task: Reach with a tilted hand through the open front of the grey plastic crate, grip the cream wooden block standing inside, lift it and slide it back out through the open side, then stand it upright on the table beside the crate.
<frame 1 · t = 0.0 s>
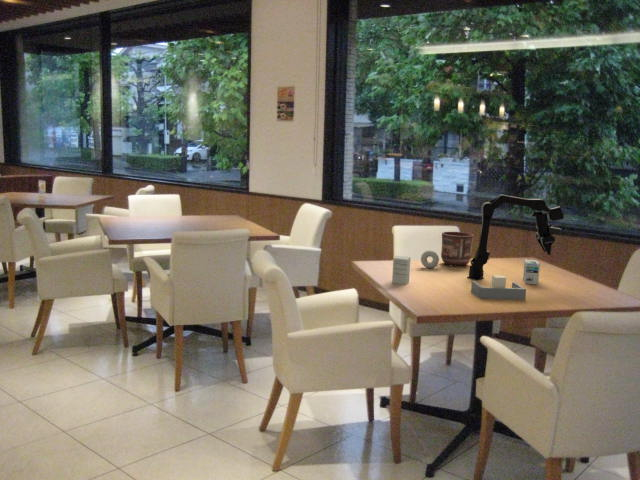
hand: (547, 253, 320), 15 cm above the table, tool pointing down, fingers open, 9 cm apart
cream block: (498, 286, 292), in the open-front crate
open-front crate: (497, 295, 292), on the table
grey ring: (429, 268, 349), on the table
light bulb box: (530, 282, 324), on the table
supplement box: (400, 282, 311), on the table
pottery: (455, 264, 362), on the table
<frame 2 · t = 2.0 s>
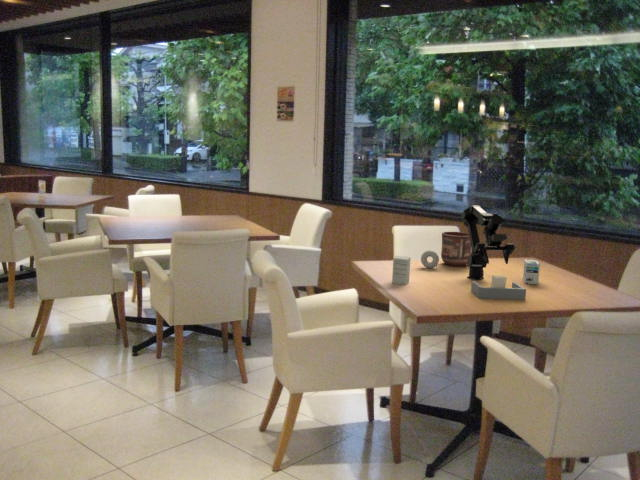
hand: (497, 263, 298), 13 cm above the table, tool tilted 45°, fingers open, 9 cm apart
nothing on the table moved.
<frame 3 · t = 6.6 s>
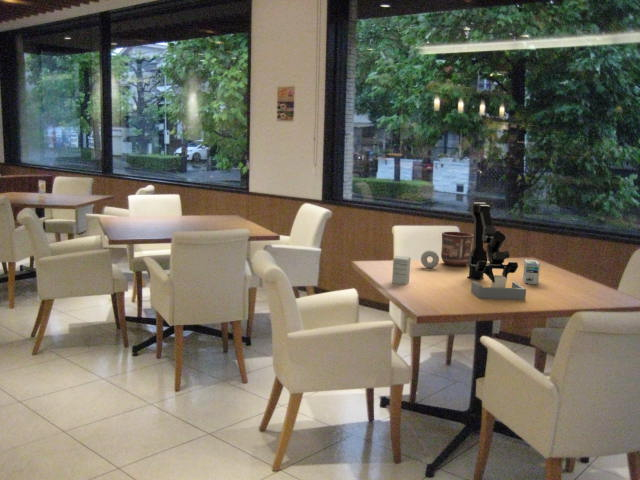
hand: (499, 282, 290), 7 cm above the table, tool tilted 45°, fingers closed on cream block, 5 cm apart
cream block: (498, 286, 292), in the open-front crate, touching gripper
everything else where it was.
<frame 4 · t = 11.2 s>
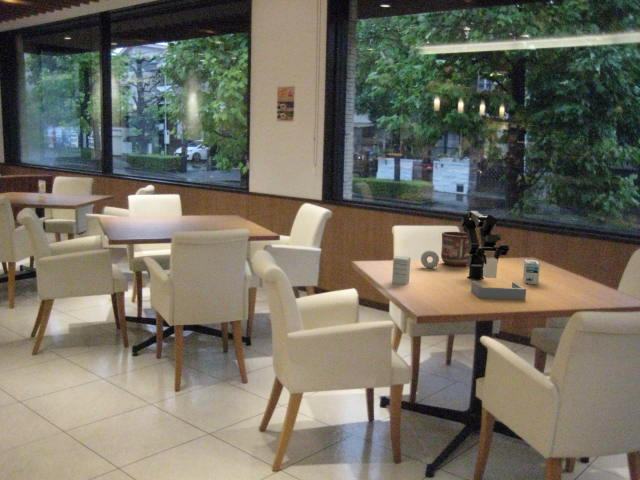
hand: (491, 263, 302), 12 cm above the table, tool tilted 45°, fingers closed on cream block, 5 cm apart
cream block: (490, 267, 304), point 10 cm above the table, touching gripper
everything else where it was.
when the fingers open (8 cm above the table, at t = 15.9 s): cream block drops 1 cm, on the table.
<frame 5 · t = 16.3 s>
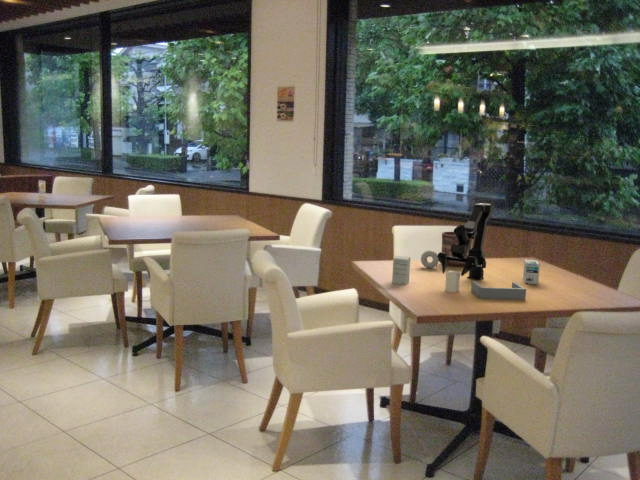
hand: (452, 274, 296), 8 cm above the table, tool tilted 45°, fingers open, 9 cm apart
cream block: (452, 281, 298), on the table
everything else where it was.
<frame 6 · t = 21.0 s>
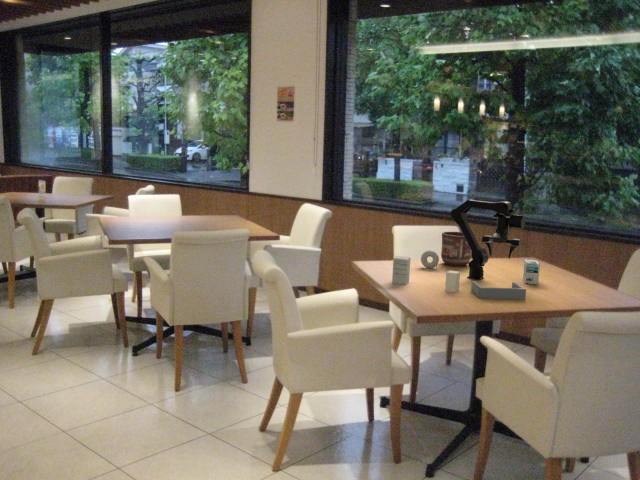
hand: (500, 257, 318), 13 cm above the table, tool pointing down, fingers open, 9 cm apart
nothing on the table moved.
at the end: cream block inside the target area (0.4 cm from its centre), on the table; cream block tilted 0°; the gripper is holding nothing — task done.
